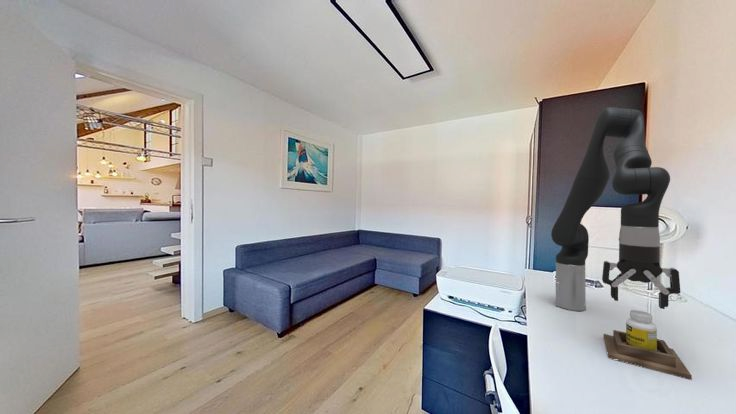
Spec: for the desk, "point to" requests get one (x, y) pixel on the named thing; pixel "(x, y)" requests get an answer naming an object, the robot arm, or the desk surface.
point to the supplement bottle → (641, 331)
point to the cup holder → (645, 355)
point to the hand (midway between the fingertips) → (638, 303)
